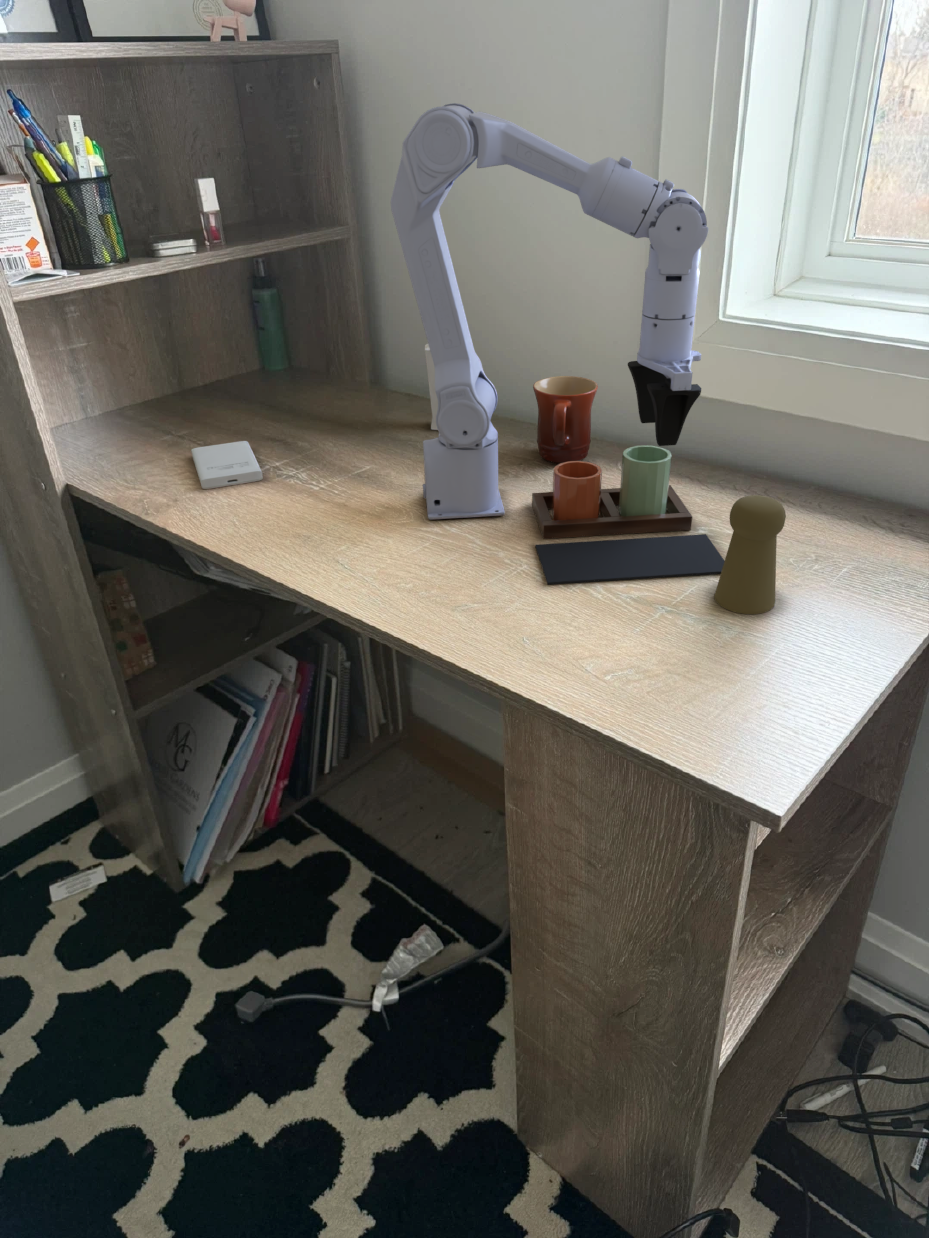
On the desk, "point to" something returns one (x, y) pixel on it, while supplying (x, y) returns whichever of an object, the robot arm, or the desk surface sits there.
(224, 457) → the hard drive
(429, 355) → the perfume bottle
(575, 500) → the terracotta cup
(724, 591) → the olive pepper mill
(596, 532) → the holder
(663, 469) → the cup
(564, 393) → the mug
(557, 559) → the desk mat
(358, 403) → the desk surface
